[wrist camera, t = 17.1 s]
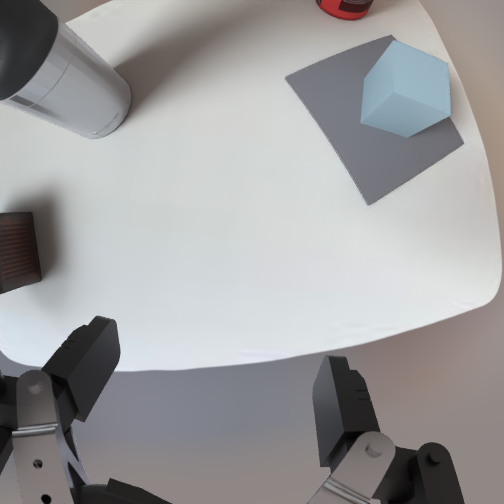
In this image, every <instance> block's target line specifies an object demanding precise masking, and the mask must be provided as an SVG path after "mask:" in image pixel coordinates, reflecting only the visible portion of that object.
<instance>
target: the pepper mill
mask: <svg viewBox="0 0 504 504" xmlns="http://www.w3.org/2000/svg"><path fill="white" fill-rule="evenodd" d="M40 281H41V269H40V263H39V257H38V250H37V243H36V237H35V230H34V223H33V216H32V212H14V213H0V294H3V293H6V292H9V291H11V290H14V289H17V288H20V287H23V286H27V285H31V284H34V283H37V282H40Z"/></svg>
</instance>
